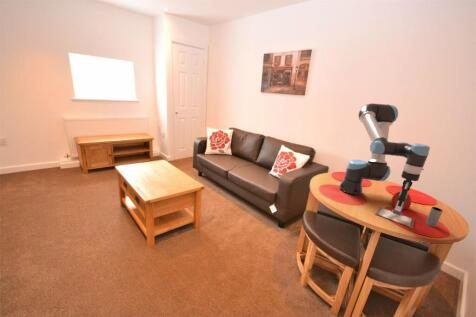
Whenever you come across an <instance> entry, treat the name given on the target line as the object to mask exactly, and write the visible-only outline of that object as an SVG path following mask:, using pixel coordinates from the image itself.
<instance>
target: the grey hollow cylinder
mask: <svg viewBox="0 0 476 317" xmlns="http://www.w3.org/2000/svg"><path fill="white" fill-rule="evenodd" d="M442 214H443V209H441V208H439V207H436V206H432V207H431V208H430V211H429V213H428V214H427V215H428V216H427V218H426V221H425V224H426V225H427V226H430V227H432V228H433V227H434V228H435V227H437V225H438V223H439V220H440V219H441V216H442Z"/></svg>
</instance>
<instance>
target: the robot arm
mask: <svg viewBox="0 0 476 317" xmlns="http://www.w3.org/2000/svg"><path fill="white" fill-rule="evenodd" d="M398 116H399V110H398V107H397V106H395V105H394V104H385V103H384V104H381V103H368V104H366V105H364V106H362V107H361V108H360V110H359V112H358V119H359V121H360V123H362V124H363V126H364V128H365V130H366V132H367V135H368V137H369V140H370V141H371V142H370V145H369V151H370V152H371V153H370V159H368V160H367V161H366V160H364V159H363V160H362V159H352V160H349V161H348V164H347V166H346V169H345V174H344V178H343V180H342V181H341V182H340V184H339V187H340V189H342V190H343V191H345V192H347V193H346V194H348V193H350V194H349V195H351V194H354V195H353V196H361V195H362V194H363V184H362V183H363V180H367V181H368V180H369V181H375V182H385V181H386V180H387V179H388V178H389V177H390V175H391V167H390V166H389V165H388V162H387V161H386V156H395V157H403V158H405V159H406V161H405V164H404V166H403V170H402V172H401V175H400V176H401V178H403V182H402V186H401V189H402V190H401V191H402V192H401V191H400V192H401V194H400V197H399V199H397V200H398V202H397V205H396V208H395V207H394V208H395V210H396V211H399V212H401V209H402V206H403V203H404V200H405V197H406V195H407V193H408V191H410V190H411V188H412V186H413V182H418V181H419V180H420V176H421V173H422V171H424V170H425V169H424V167H425V166H424V165H425V163H426V161H427V159H428V156H429V154H430V149H431V147H430V146H429V145H426V144H422V143H415V142H414V143H412V144H410V143H407V142H402V141H400V142H391V141H388V140H389V132H390V127H391V126H392V125H393V123H395V121H397V118H398ZM340 189H339V190H340ZM343 191H342V192H343ZM345 192H344V193H345ZM402 210H403V209H402ZM401 213H402V212H401Z"/></svg>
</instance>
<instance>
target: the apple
mask: <svg viewBox="0 0 476 317" xmlns="http://www.w3.org/2000/svg"><path fill="white" fill-rule="evenodd" d="M400 192H401V191H398V192H395V194H393V196H391V200H390V201H391V204H392V205H393V207H395V205H396V202H397V199H398V197H399V194H400ZM411 205H412V197H411V195H410V194H409V193H408V195H407V199H406V201H405V204H404V207H403V209H402V210H408V209H409V208H410V207H411Z"/></svg>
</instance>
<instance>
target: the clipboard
mask: <svg viewBox="0 0 476 317" xmlns="http://www.w3.org/2000/svg"><path fill="white" fill-rule="evenodd" d="M393 211H394V209H392V210H391V209H388V208H384V207H382V206H379V207H378V209H377V211H376V212H375V213H374V215H375V216H379V217H381V218H383V219H386V220H389V221H392V222H393V223H396V224H399V225H402V226H404V227H405V228H410V229H412V230H413V229H414V225H415V221H416V219H415V218H412V217H410V216H407V215H404V214H403V213H402V212H401V215H397V214H394V213H393Z"/></svg>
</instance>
